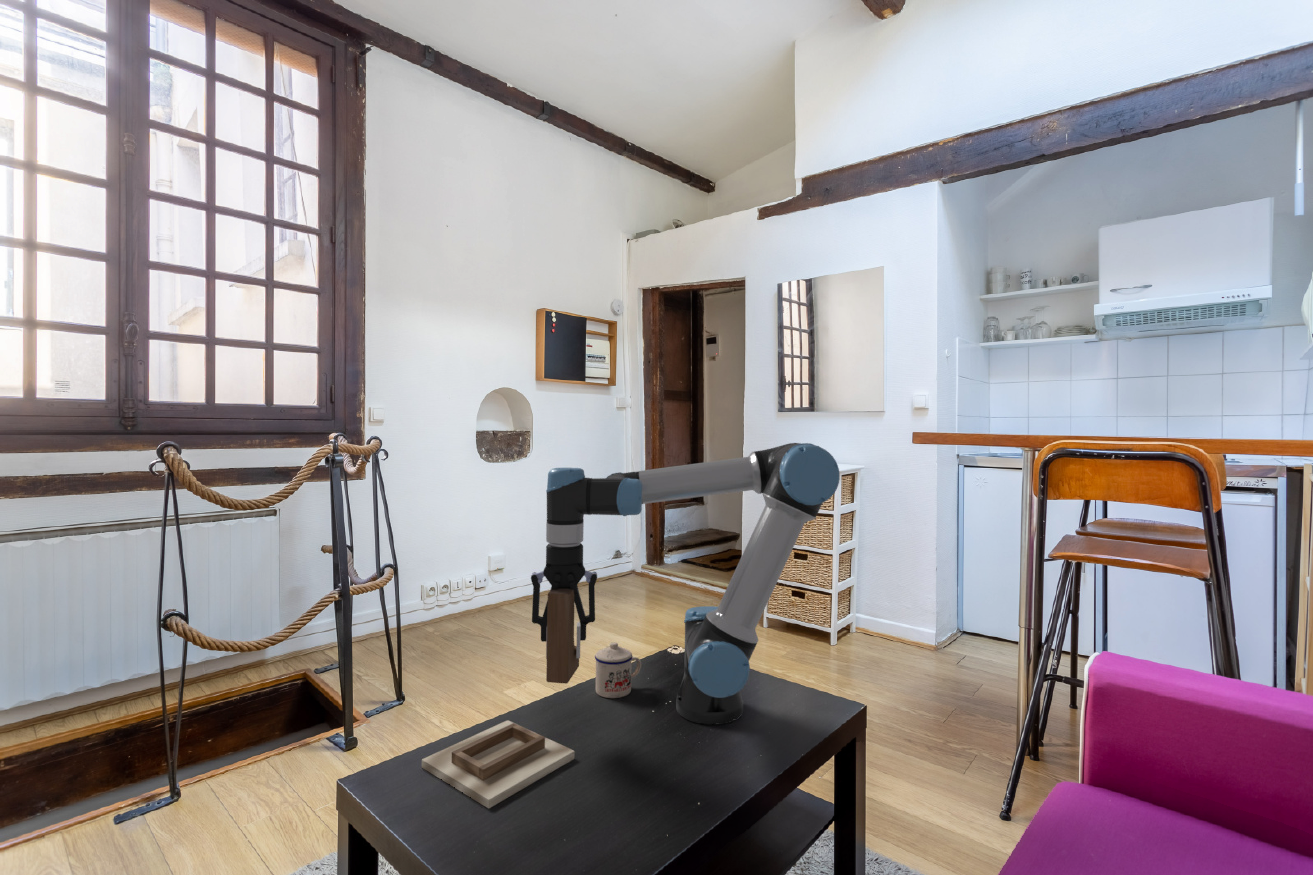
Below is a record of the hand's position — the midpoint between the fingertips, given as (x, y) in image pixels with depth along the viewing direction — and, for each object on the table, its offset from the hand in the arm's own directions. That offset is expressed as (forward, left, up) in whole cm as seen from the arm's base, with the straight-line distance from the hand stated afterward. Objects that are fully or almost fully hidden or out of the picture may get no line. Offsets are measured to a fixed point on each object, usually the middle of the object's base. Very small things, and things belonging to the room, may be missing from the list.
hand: (563, 656), depth 126 cm
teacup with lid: (+6, -25, -17) cm, 31 cm away
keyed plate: (+2, +14, -17) cm, 22 cm away
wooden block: (0, 0, -4) cm, 4 cm away
